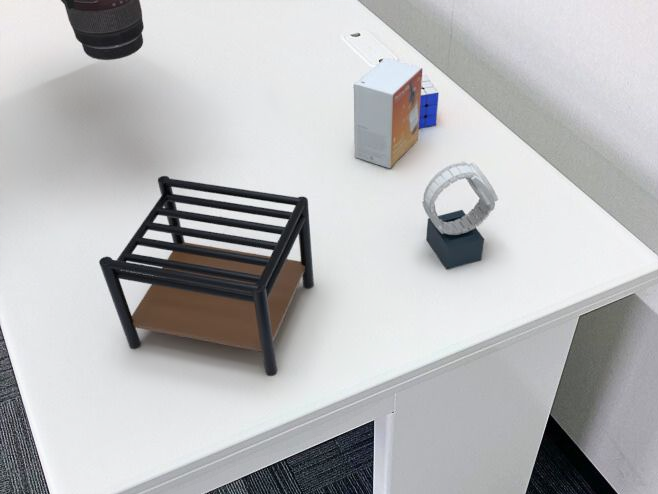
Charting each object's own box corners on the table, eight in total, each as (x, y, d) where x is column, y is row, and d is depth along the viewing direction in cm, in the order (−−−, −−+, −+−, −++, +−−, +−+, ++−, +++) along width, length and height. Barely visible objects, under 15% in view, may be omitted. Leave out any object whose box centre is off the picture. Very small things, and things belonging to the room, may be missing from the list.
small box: (390, 170, 96) (392, 95, 88) (353, 157, 98) (352, 83, 90) (419, 140, 100) (424, 66, 92) (383, 128, 102) (385, 55, 94)
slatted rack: (127, 347, 76) (96, 263, 67) (181, 259, 85) (160, 174, 76) (275, 376, 73) (262, 292, 64) (315, 281, 82) (309, 196, 73)
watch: (496, 255, 84) (510, 175, 76) (431, 273, 83) (439, 192, 74) (474, 226, 88) (485, 146, 80) (412, 242, 86) (416, 162, 78)
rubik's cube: (390, 112, 105) (391, 80, 101) (424, 107, 106) (426, 74, 102) (401, 131, 102) (403, 98, 98) (436, 125, 102) (438, 92, 99)
